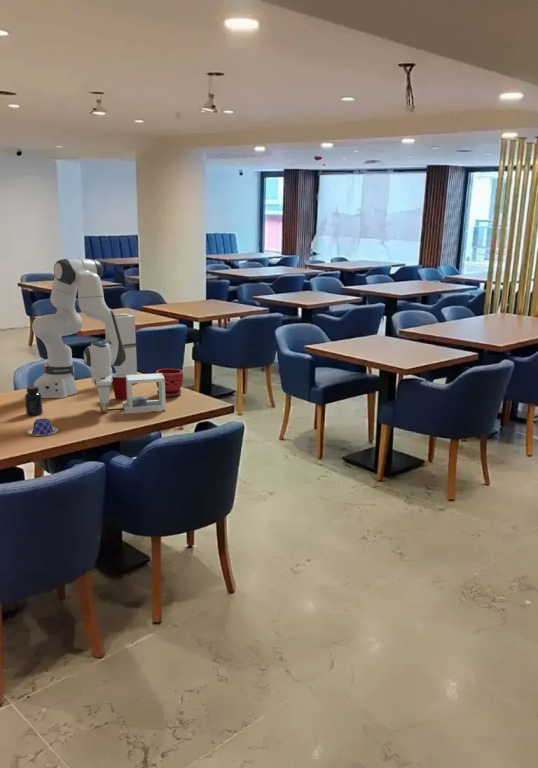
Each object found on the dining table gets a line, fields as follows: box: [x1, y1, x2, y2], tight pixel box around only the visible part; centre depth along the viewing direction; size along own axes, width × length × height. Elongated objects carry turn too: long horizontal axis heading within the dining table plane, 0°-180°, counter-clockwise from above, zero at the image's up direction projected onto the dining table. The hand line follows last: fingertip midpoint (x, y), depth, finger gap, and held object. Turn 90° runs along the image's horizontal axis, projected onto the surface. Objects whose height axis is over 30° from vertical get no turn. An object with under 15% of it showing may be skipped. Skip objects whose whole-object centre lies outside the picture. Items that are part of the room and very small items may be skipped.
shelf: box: [122, 372, 167, 415], centre depth 309 cm, size 18×10×15 cm, turn 107°
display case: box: [104, 313, 138, 385], centre depth 352 cm, size 11×11×35 cm
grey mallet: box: [99, 395, 148, 414], centre depth 308 cm, size 20×6×5 cm, turn 107°
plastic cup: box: [111, 372, 133, 401], centre depth 327 cm, size 11×11×12 cm
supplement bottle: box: [24, 385, 43, 417], centre depth 301 cm, size 7×7×12 cm
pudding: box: [26, 417, 59, 437], centre depth 278 cm, size 12×12×5 cm
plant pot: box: [155, 368, 184, 398], centre depth 334 cm, size 13×13×12 cm
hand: (103, 408), depth 305 cm, fingers closed on grey mallet, 3 cm apart
